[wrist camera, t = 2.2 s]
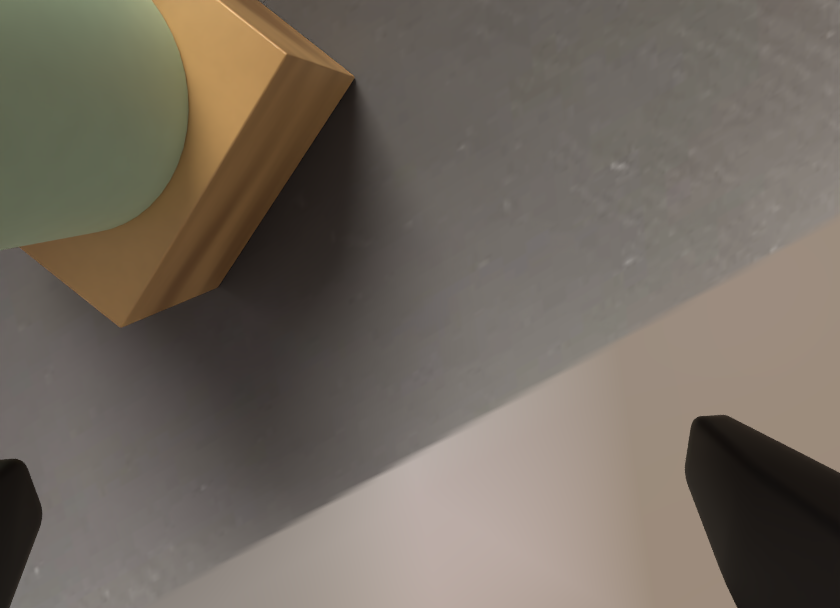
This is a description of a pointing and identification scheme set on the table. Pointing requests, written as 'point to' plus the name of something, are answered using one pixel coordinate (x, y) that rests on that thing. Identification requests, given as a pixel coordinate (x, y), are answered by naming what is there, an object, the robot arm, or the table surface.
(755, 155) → the table surface
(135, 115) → the pale green cylinder
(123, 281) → the stand
